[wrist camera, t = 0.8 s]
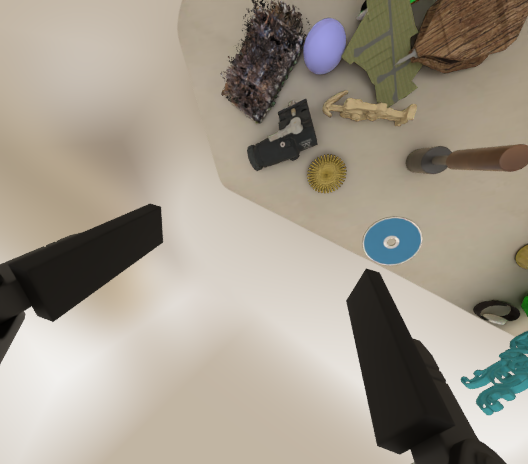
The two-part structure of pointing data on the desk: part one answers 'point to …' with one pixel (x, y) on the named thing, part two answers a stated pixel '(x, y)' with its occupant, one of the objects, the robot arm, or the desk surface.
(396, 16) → the map
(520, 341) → the decorative art
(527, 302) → the apple
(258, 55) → the dark brown fibrous block
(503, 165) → the brush
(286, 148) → the scope
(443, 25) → the wooden sandwich slab
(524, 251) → the vase
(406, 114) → the toy
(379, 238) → the disc
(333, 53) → the sphere
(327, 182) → the sculpture
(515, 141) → the desk surface
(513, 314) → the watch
